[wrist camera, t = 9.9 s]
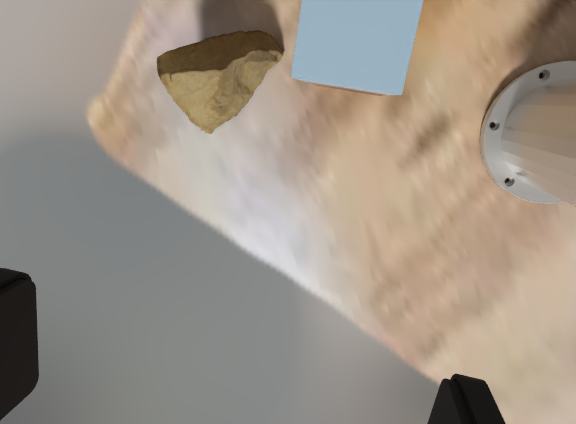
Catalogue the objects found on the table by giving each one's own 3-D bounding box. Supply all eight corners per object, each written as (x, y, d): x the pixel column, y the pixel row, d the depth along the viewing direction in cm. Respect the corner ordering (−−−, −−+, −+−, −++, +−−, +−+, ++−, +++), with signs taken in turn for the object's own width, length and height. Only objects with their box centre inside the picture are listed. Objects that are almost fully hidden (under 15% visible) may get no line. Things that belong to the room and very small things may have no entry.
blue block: (413, -4, 25) (431, -34, 19) (391, 95, 27) (401, 94, 21) (319, -16, 26) (309, -49, 20) (304, 81, 27) (290, 76, 22)
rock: (272, -7, 35) (163, 15, 36) (280, 44, 30) (151, 68, 30) (290, 96, 44) (202, 112, 44) (298, 149, 38) (197, 167, 39)
